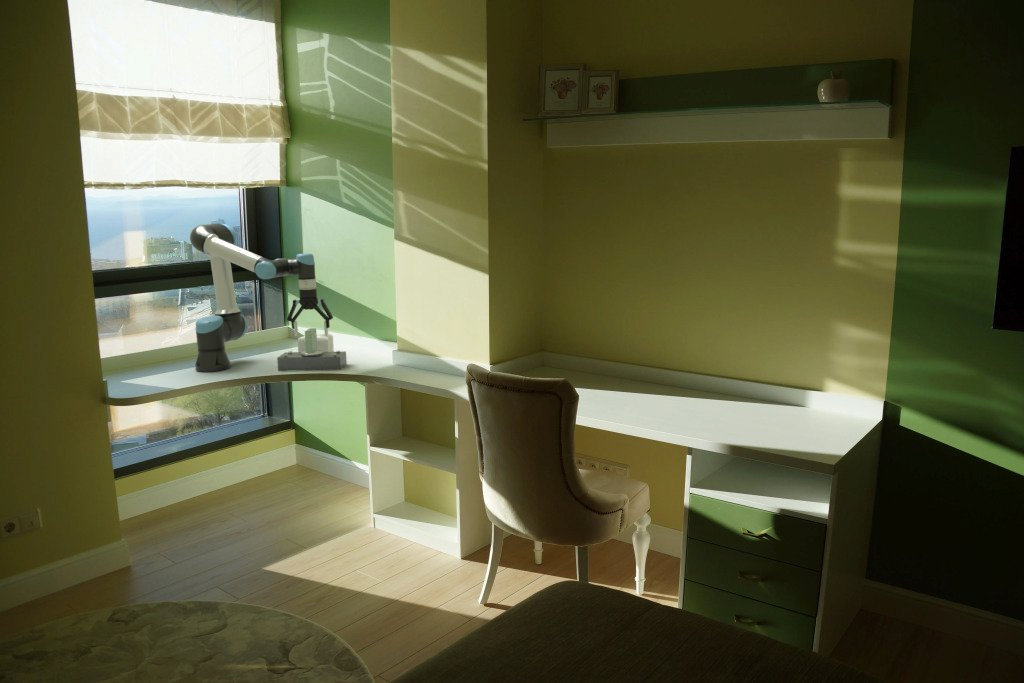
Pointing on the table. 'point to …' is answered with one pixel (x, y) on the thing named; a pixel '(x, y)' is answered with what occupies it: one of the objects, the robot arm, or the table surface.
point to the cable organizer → (318, 343)
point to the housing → (312, 361)
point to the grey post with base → (311, 343)
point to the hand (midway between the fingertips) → (311, 335)
